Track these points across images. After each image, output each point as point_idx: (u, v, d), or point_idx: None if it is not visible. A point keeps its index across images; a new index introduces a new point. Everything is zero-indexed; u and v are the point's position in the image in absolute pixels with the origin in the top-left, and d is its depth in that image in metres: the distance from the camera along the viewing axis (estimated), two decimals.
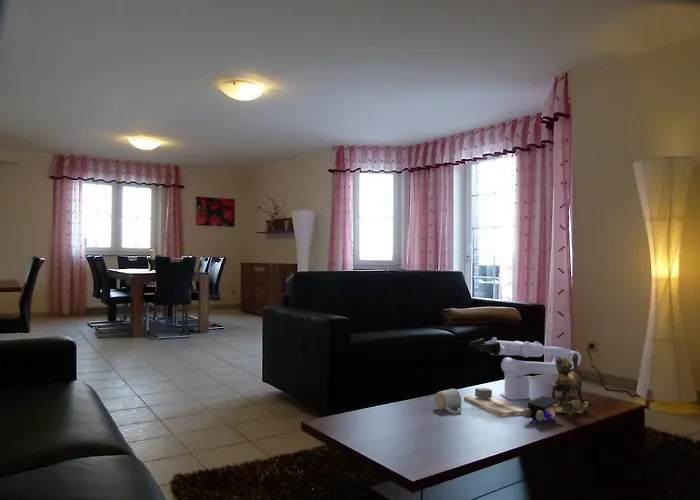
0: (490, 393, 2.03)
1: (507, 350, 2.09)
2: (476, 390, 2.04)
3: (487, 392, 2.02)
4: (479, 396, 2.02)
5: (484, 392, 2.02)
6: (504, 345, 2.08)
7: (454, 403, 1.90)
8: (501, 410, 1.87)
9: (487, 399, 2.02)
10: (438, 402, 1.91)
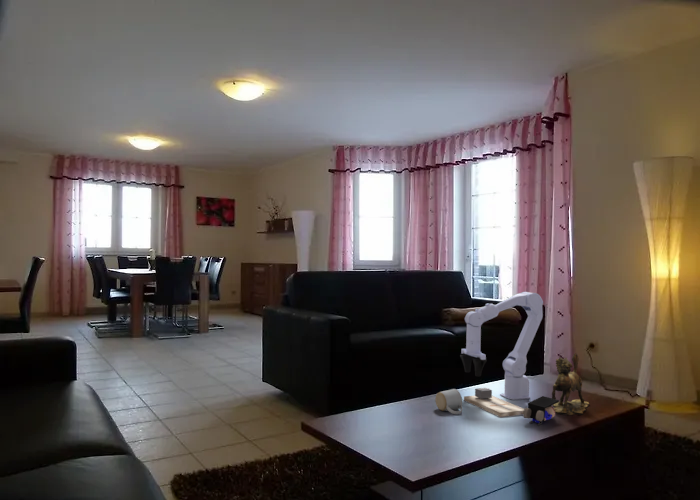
0: (490, 393, 2.03)
1: (478, 342, 2.09)
2: (476, 390, 2.04)
3: (487, 392, 2.02)
4: (479, 396, 2.02)
5: (484, 392, 2.02)
6: (474, 345, 2.09)
7: (455, 403, 1.89)
8: (501, 410, 1.87)
9: (487, 399, 2.02)
10: (439, 402, 1.91)
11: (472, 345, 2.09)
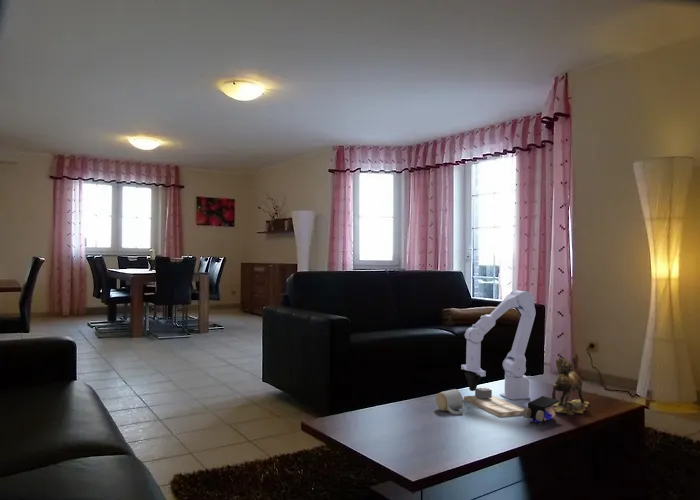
0: (490, 393, 2.03)
1: (478, 358, 2.09)
2: (476, 390, 2.04)
3: (487, 392, 2.02)
4: (479, 396, 2.02)
5: (484, 392, 2.02)
6: (474, 362, 2.08)
7: (455, 404, 1.89)
8: (501, 410, 1.87)
9: (487, 399, 2.02)
10: (440, 402, 1.90)
11: (472, 361, 2.08)
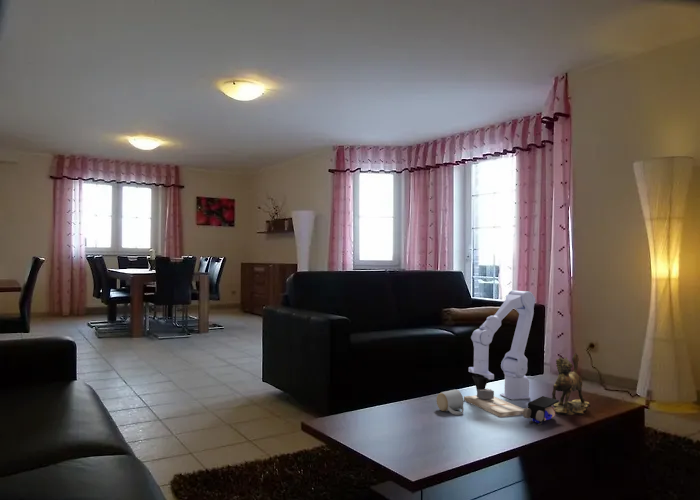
0: (492, 394, 2.02)
1: (486, 360, 2.04)
2: (478, 391, 2.03)
3: (489, 393, 2.01)
4: (481, 397, 2.01)
5: (486, 393, 2.01)
6: (482, 364, 2.03)
7: (456, 404, 1.88)
8: (501, 410, 1.87)
9: (487, 399, 2.02)
10: (440, 403, 1.90)
11: (480, 364, 2.03)
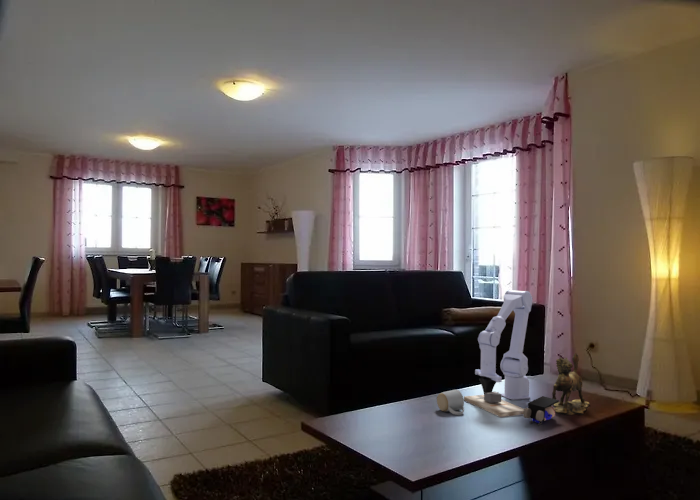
0: (500, 397, 1.97)
1: (493, 363, 1.99)
2: (485, 394, 1.98)
3: (497, 396, 1.97)
4: (488, 400, 1.96)
5: (493, 396, 1.96)
6: (489, 367, 1.99)
7: (456, 404, 1.88)
8: (501, 410, 1.87)
9: None
10: (441, 403, 1.90)
11: (487, 366, 1.99)
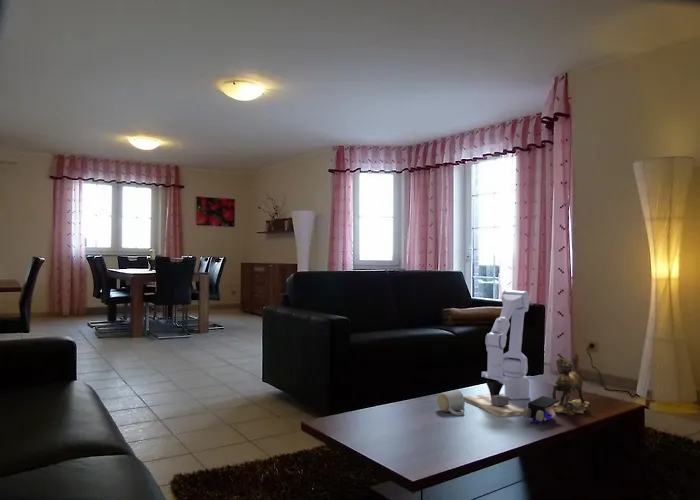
0: (507, 400, 1.93)
1: (501, 365, 1.95)
2: (492, 397, 1.94)
3: (504, 399, 1.93)
4: (495, 403, 1.92)
5: (501, 399, 1.92)
6: (496, 369, 1.95)
7: (457, 404, 1.88)
8: (501, 410, 1.87)
9: (487, 399, 2.02)
10: (441, 403, 1.89)
11: (494, 369, 1.95)
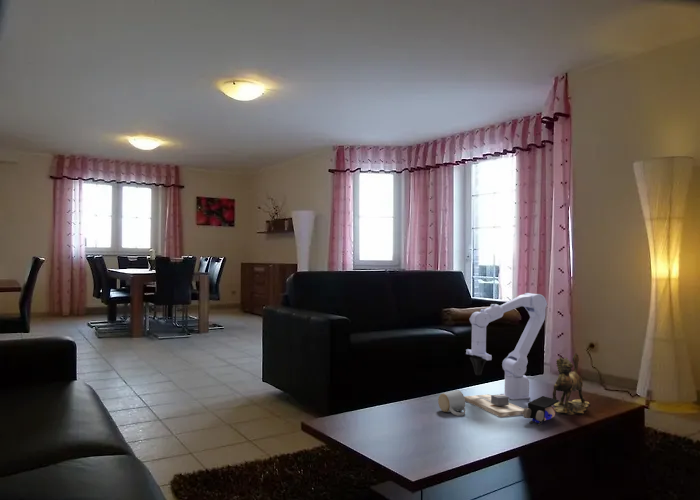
0: (507, 400, 1.93)
1: (484, 342, 2.08)
2: (492, 397, 1.94)
3: (504, 399, 1.92)
4: (495, 403, 1.92)
5: (501, 399, 1.92)
6: (479, 346, 2.08)
7: (458, 405, 1.87)
8: (501, 410, 1.87)
9: (487, 399, 2.02)
10: (442, 403, 1.89)
11: (478, 346, 2.08)
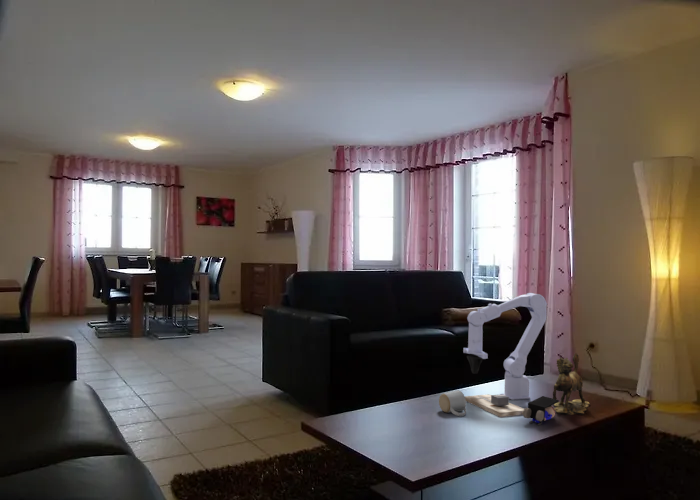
0: (507, 400, 1.93)
1: (480, 341, 2.11)
2: (492, 397, 1.94)
3: (504, 399, 1.92)
4: (495, 403, 1.92)
5: (501, 399, 1.92)
6: (476, 345, 2.11)
7: (459, 405, 1.87)
8: (501, 410, 1.87)
9: (487, 399, 2.02)
10: (443, 404, 1.89)
11: (474, 344, 2.11)
